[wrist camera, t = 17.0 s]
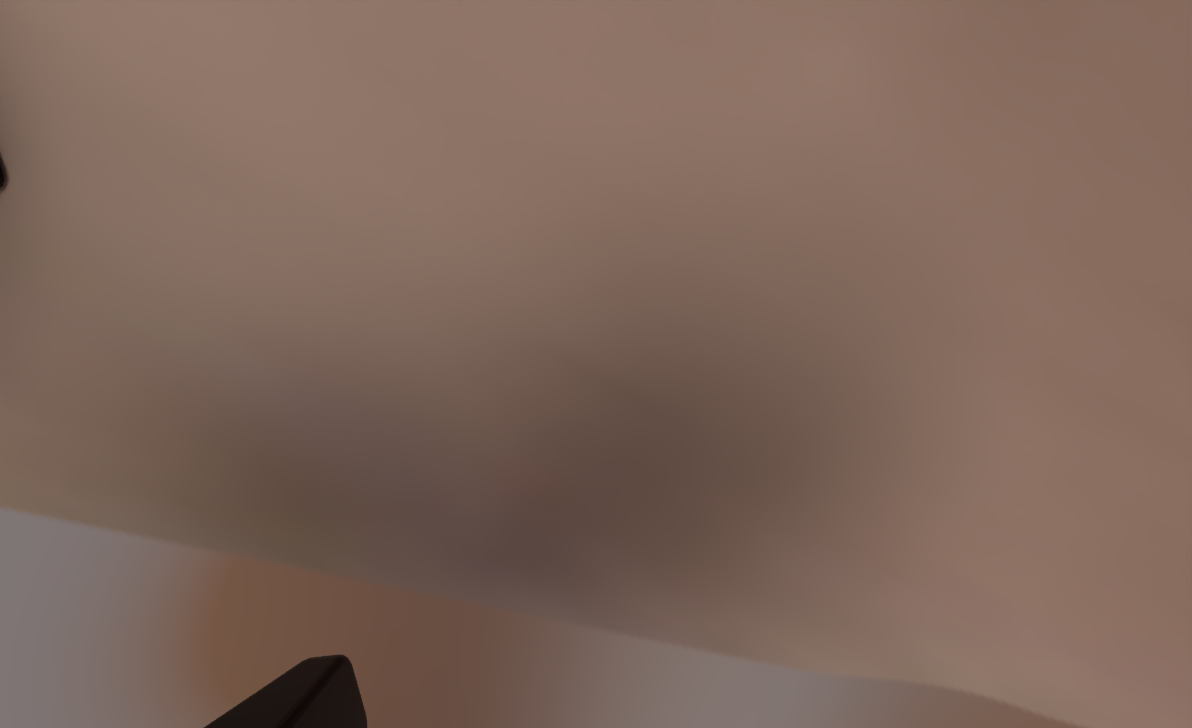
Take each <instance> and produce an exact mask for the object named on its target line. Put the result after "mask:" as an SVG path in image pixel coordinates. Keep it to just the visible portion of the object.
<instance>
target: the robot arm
mask: <svg viewBox="0 0 1192 728" xmlns="http://www.w3.org/2000/svg"><path fill="white" fill-rule="evenodd" d="M3 180H4V176H3V171H2V168H1V165H0V188H1V187H2V184H3ZM204 728H367V718H366V713H365V709H364V706H363V703H362V698H361V695H360V691H359V688H358V684H357V681H356V677H355V674H354V670H353V667H352V664H351V662H350V660H349V659H348V658H347V657H346V656H344V655H331V656H322V657H313V658H309V659H306V660H304V661H302V662H301V663H299V664H298V665H296V666H295V667H293V668H292V669H290V670H289V671H287V672H286V673H285V674H283V675H281V676H280V677H278V678H277V679H275V680H274V681H273V682H271V683H269V684H268V685H267V686H265V687H263V688H262V689H261V690H259V691H258V692H256V693H255V694H253V695H252V696H250V697H249V698H247V699H246V700H244V701H243V702H241V703H240V704H238V705H237V706H235V707H234V708H233V709H231V710H229V711H228V712H226V713H225V714H224V715H222V716H220V717H219V718H217V719H216V720H214V721H213V722H211V723H210V724H209V725H207V726H206V727H204Z"/></svg>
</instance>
